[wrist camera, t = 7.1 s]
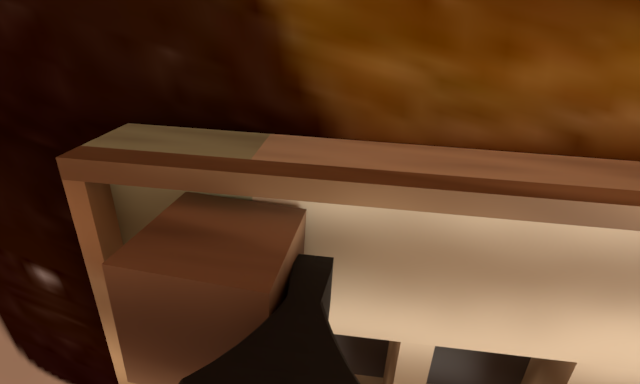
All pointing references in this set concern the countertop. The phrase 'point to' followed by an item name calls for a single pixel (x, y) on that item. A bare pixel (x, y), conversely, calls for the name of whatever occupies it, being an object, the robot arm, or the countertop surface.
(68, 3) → the countertop surface
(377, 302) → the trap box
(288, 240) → the walnut block
